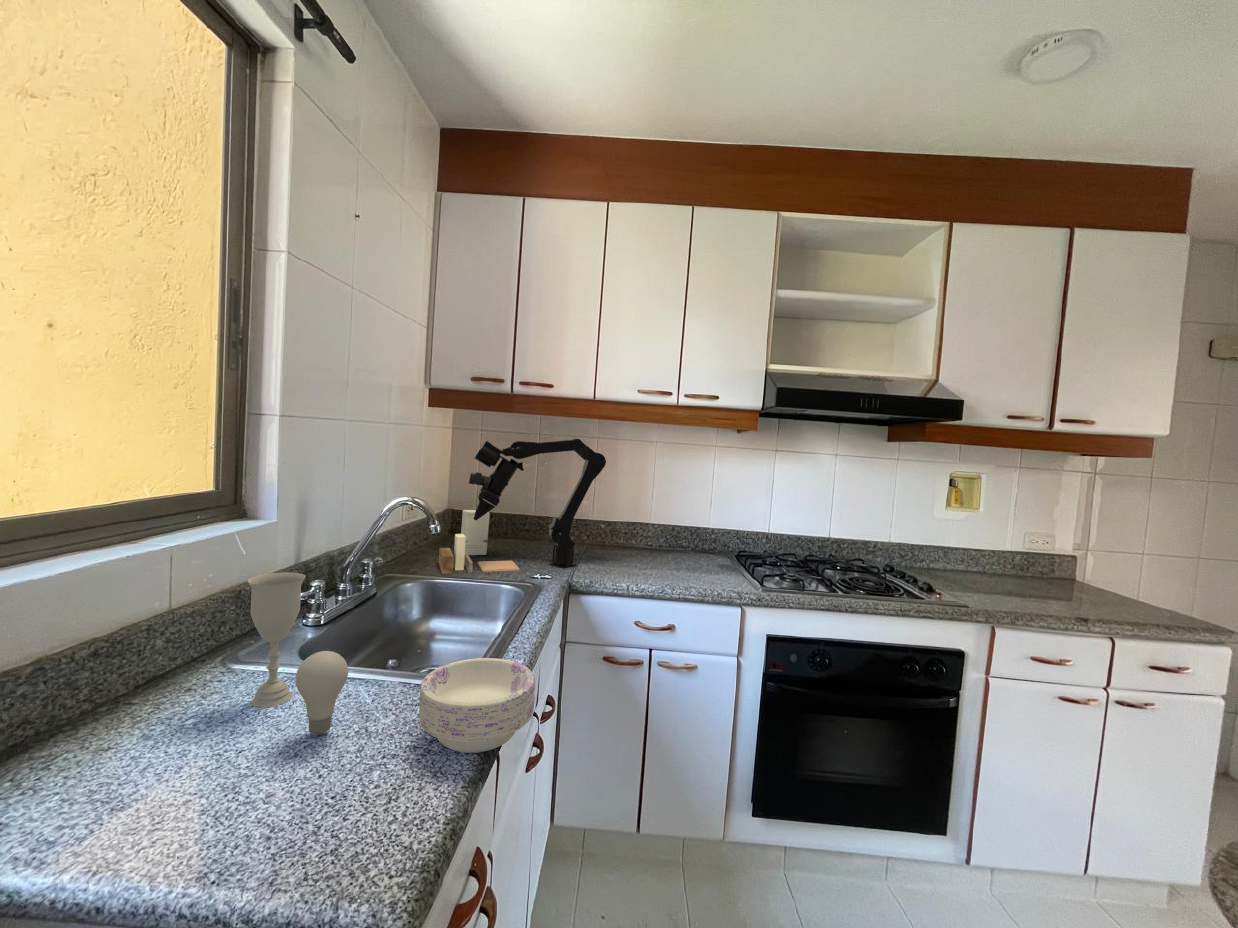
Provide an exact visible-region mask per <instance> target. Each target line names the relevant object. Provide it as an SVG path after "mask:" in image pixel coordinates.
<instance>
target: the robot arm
mask: <svg viewBox="0 0 1238 928" xmlns="http://www.w3.org/2000/svg"><path fill="white" fill-rule="evenodd" d="M561 452H574V453H576V455H578V456H579V457H580V458H581V459H582V460H584V463H583V467H582V470H581V475H580V477H579V480H578V481H577V484H576V486H575V488H574V489H573V490H572V493H571V495H570V497H569V499H568V500H567V503H566V505H565V506H564V509H563V510H562V512H561V513H560V515H559V516H556V515H554V516H553V517H552V521H551V522H550V524H548V527H549V530H548V534H549V536H550V538H551V540H552V541H553V542H554V543H555V544H553V549H552V562H549V563H548V564H549V565H551V566H555V567H559V568H563V569H564V568H569V567H573V566H574V567H575V566H577V563H575V562H574V554H575V547H574V546H575V544H576V543H575V541H574V539H573V538H572V537H571V536H570V533H571V530H572V525H573V521H574V518H575V516H576V514H577V512H578V510H579V508H580V506H581V505H582V502H583V500H584V498H585V497H586V495H587V492H588V490H589V489H590V487H591V485H592V483H593V481H594V480H595V479H596V478H597V476H599V475H600V474H601V472H602V471H603V470H604V468H605V467H606V464H607V460H606V457H605V456H604V455H603V454H602V453H600V452H595V451H594V450H593V449H592V448H590V447H589V446H588V445H586V444H585V442H583V441H582V440H581V438H580V439H579V438H572V439H564V440H563V439H562V440H551V441H542V442H541V441H540V442H537V441H536V442H534V441H525V440H516V441H513V442H512V443H511V444H510V445H509V446H508V447H505V448H502V449H499V448H498V447H496V446H495V445H493V444H492V443H491V442H490V441H488V440H486V441H485V442H484V444H483V445H482V447H481V448H480V449H479V450H478V451H477V454H476V455H475V457H474V458H473V459H474V460H476V461H477V462H478V463H481V464H483V465H484V466H486V467H488V468H491V467H494V468H495V469H494V471H493V472H492V473H490V475H489V476H488V475H485V474H482V473H481V472H478V471H476V472H475V473H474V472H471V473H470V475H469V479H468V480H469V481H468V484H470V485H477V486H481V488H480V490H479V494H478V497H477V498H478V505H477V507H476V509H475V510H476V512H475V516H474V518H473V519H474V520H478V519H479V518H481V517H482V516H483V515H485V514H486V513H488V512H489V513H490V511H492V510H493V509H495V508H496V507H497V506H498V505H499V503H500V501H501V500H500V499H501V498H500V497H501V496H502V493H503V492H504V491H505V489H506V487H507V486H509V482H510V481H511V480H512V478H513V476H514V475H515V473H516V471H517V470H520V471H522V472H524V465H523V463H524V462H522V461H519V462H518V461H517V460H523V459H526V458H529V457H532V456H533V457H534V456H537V455H539V454H549V453H550V454H551V453H552V454H553V453H561ZM502 455H503V456H502ZM505 457H513V458H510V459H507V458H505ZM500 459H501V460H500ZM499 460H500V461H499ZM496 465H497V466H496Z"/></svg>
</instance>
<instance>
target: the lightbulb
mask: <svg viewBox="0 0 1238 928" xmlns="http://www.w3.org/2000/svg"><path fill="white" fill-rule="evenodd" d="M347 663H348V662H347V661H346V660H345V658H344V657H343V656H341V654H339V653H337V652H335V651H330V650H322V651H318V652H314V653H313V654H310V656H308V657H306V658H305V659H304V660H303V661H302V662H301V664H300V665H299V666H298V668H297V670H296V673H295V679H294V681H295V687H296V689H297V691H298V693H299V694H300V696H301V698H302V699H303V701H304V704H305V707H306V717H307V719H308V732H309V733H310V734H313V735H315V736H316V737H317V736H323V735H324V733H326V732H328V731H329V730H330V729H331V727H332V720H333V719H332V717H333V714H334V712H335V707H336V701H337V699H338V698H339V697H338V696H339V694H340V693H341V691H342V690H343V689H344V686H345V685H346V683H347V680H348V677H349V668H348V667H349V666H348V664H347Z"/></svg>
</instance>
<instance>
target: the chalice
mask: <svg viewBox="0 0 1238 928" xmlns="http://www.w3.org/2000/svg"><path fill="white" fill-rule="evenodd" d="M305 579H306V575H305V574H303V573H300V572H291V571H290V572H272V573H264V574H259V575H255V576H252V577H250V578H248V579H247V583H248V584H249V586H250V588H251V595H250V597H251V599H250V616H251V619H252V622H253V624H254V627H255V628H256V631H257V632H258V634H259V636H260V637H261V638H262V641H264V642H268V643H269V644H270V645H269V646H270V648H269V652H268V654H267V657H268V658H269V663H268V665H267V666H266V667H265V668H266V670H268V672H269V676H268V679H266V680H265V682H262V683H261V685H259V687H258V688H257V691H255V694H254V697H253V699H252V700H251V703H250V704H251V705H252V706H254V707H256V708H272V707H276V706H279V705H283V704H285V703H287V702H289V701H290V700H291V699H292V698H293V694H292V693H291V691H290V687H288V684H287V682H286V681H284V680H282V679H280V678H279V676H278V671H279V669H280V668H281V664H280V663H279V656H280V655H281V652H280V649H279V643H280V641H282V640H284V639H286V637H287V636H288V635H289V633H290V631H291V629H292V627H294V624H295V622H296V620H297V617H298V615H299V613H300V611H301V599H302V598H301V594H302V584H303V582H304V581H305Z"/></svg>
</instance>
